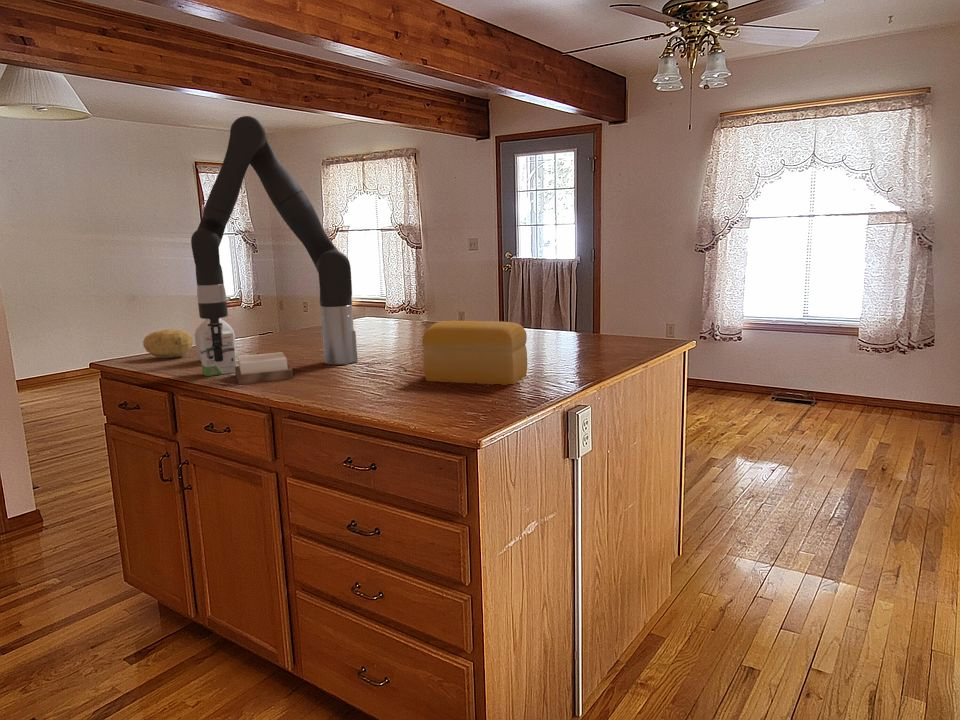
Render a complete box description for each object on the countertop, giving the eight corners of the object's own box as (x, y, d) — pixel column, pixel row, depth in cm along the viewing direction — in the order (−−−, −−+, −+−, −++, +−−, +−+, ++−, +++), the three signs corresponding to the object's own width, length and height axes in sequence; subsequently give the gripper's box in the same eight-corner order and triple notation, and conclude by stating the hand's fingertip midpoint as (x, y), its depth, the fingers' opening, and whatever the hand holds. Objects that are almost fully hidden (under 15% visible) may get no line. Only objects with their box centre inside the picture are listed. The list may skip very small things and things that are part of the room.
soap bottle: (240, 359, 218) (232, 287, 214) (214, 364, 210) (205, 290, 206) (220, 356, 223) (213, 286, 219) (194, 362, 216) (186, 289, 211)
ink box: (206, 376, 193) (201, 335, 190) (202, 374, 197) (197, 333, 194) (237, 372, 197) (233, 331, 195) (233, 369, 201) (229, 329, 199)
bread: (528, 375, 180) (527, 318, 178) (512, 386, 169) (511, 325, 166) (443, 371, 189) (441, 317, 186) (423, 381, 177) (420, 323, 175)
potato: (177, 361, 218) (174, 331, 217) (141, 360, 223) (137, 331, 221) (199, 355, 228) (196, 327, 226) (163, 354, 232) (160, 326, 230)
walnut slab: (286, 371, 199) (286, 361, 199) (293, 380, 186) (292, 369, 186) (236, 377, 194) (235, 366, 193) (239, 386, 181) (238, 375, 181)
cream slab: (283, 362, 197) (282, 352, 197) (287, 369, 186) (286, 358, 186) (239, 366, 193) (238, 356, 192) (241, 374, 182) (240, 363, 181)
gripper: (227, 301, 188) (234, 362, 191) (225, 297, 201) (231, 354, 204) (198, 303, 185) (205, 365, 188) (197, 299, 198) (204, 356, 201)
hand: (218, 359), depth 196 cm, fingers closed on ink box, 5 cm apart
